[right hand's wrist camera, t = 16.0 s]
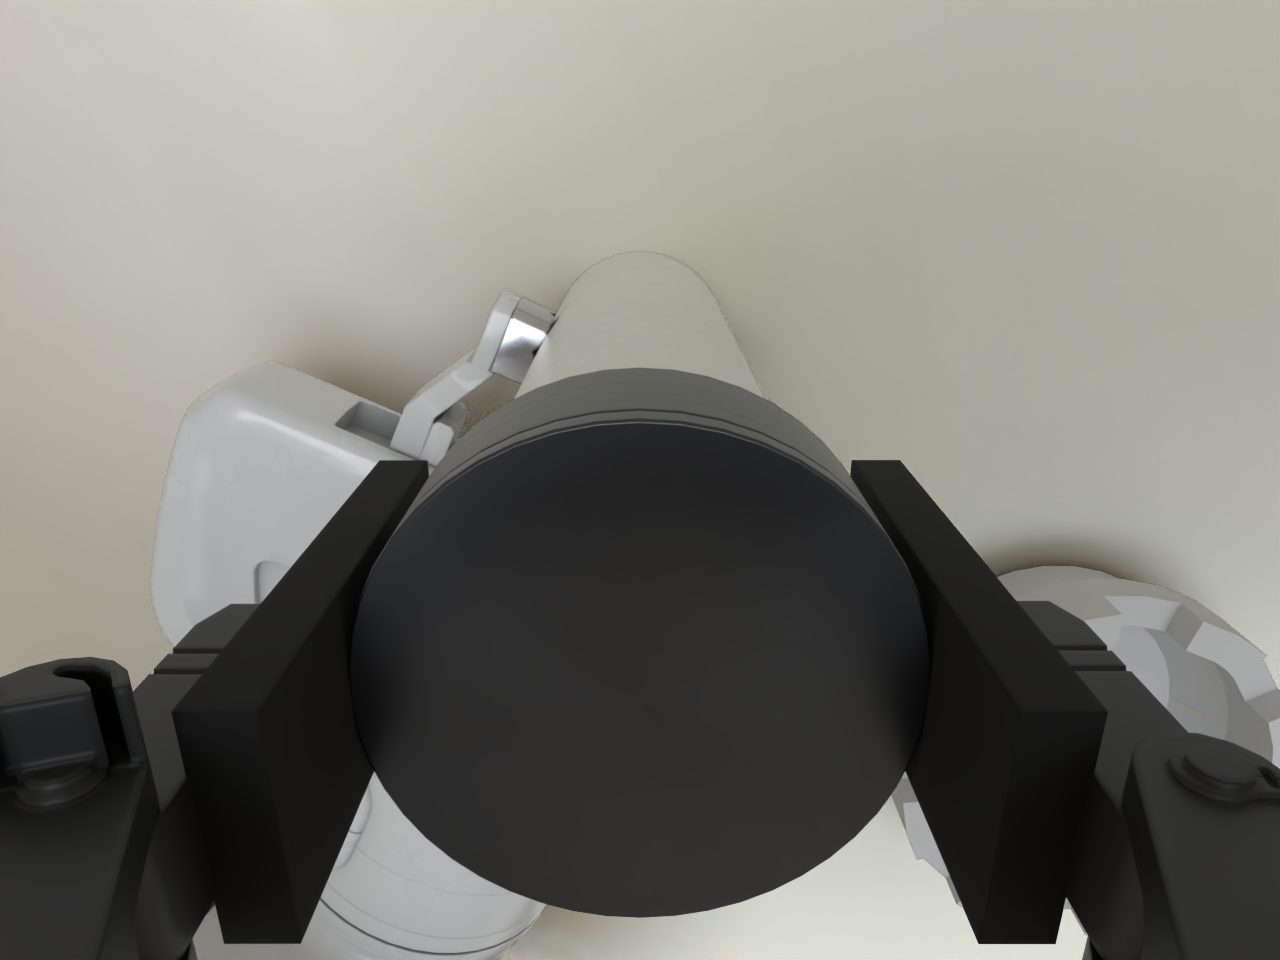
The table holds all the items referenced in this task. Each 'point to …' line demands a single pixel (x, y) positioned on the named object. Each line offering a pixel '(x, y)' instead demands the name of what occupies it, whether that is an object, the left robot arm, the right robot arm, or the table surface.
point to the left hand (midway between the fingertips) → (652, 358)
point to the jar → (639, 325)
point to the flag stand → (1148, 668)
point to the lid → (639, 649)
